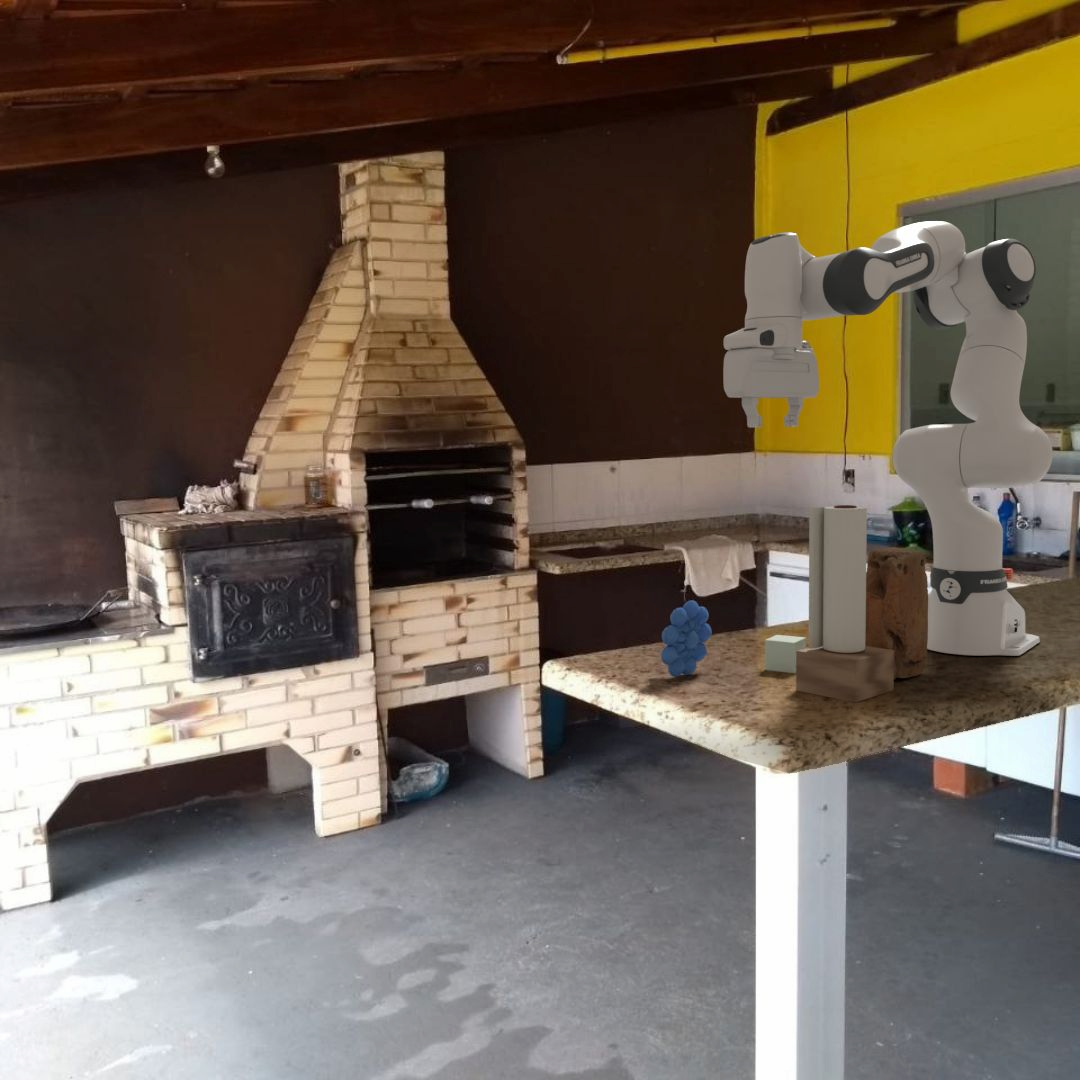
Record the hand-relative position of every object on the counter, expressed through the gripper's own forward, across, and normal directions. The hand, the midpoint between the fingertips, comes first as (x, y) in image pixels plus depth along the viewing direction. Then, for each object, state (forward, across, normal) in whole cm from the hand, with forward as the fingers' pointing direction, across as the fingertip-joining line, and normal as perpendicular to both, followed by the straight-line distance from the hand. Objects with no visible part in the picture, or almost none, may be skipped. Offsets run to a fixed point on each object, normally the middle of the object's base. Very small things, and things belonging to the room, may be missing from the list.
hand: (773, 427), depth 166 cm
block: (+39, -9, +16) cm, 43 cm away
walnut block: (+39, +4, +16) cm, 42 cm away
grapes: (+39, +13, -8) cm, 42 cm away
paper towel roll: (+33, +4, +15) cm, 37 cm away
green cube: (+39, -2, +1) cm, 39 cm away
